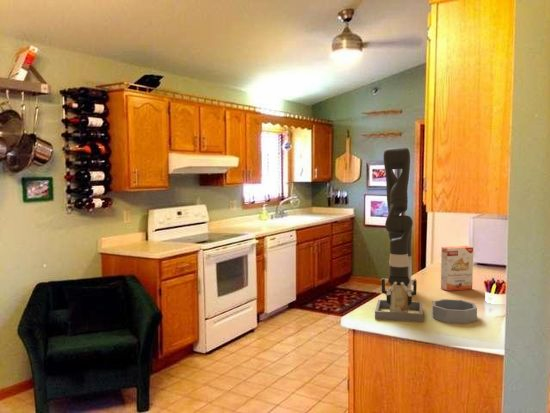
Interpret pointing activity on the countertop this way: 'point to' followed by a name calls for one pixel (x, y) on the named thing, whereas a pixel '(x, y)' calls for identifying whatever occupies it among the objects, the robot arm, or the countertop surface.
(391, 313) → the parts tray
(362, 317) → the countertop surface
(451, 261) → the cracker box
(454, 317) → the ceramic bowl
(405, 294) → the skincare box
